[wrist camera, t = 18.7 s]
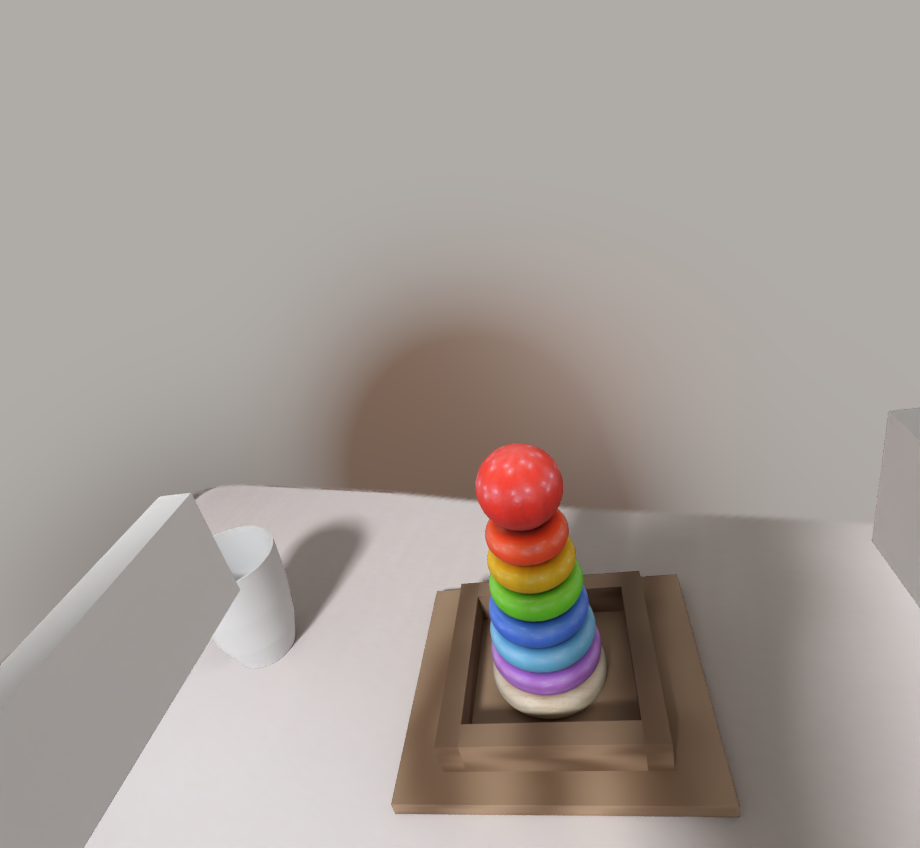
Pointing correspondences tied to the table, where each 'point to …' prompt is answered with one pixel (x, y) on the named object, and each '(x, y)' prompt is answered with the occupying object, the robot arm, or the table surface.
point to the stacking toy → (536, 589)
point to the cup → (255, 599)
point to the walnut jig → (568, 718)
